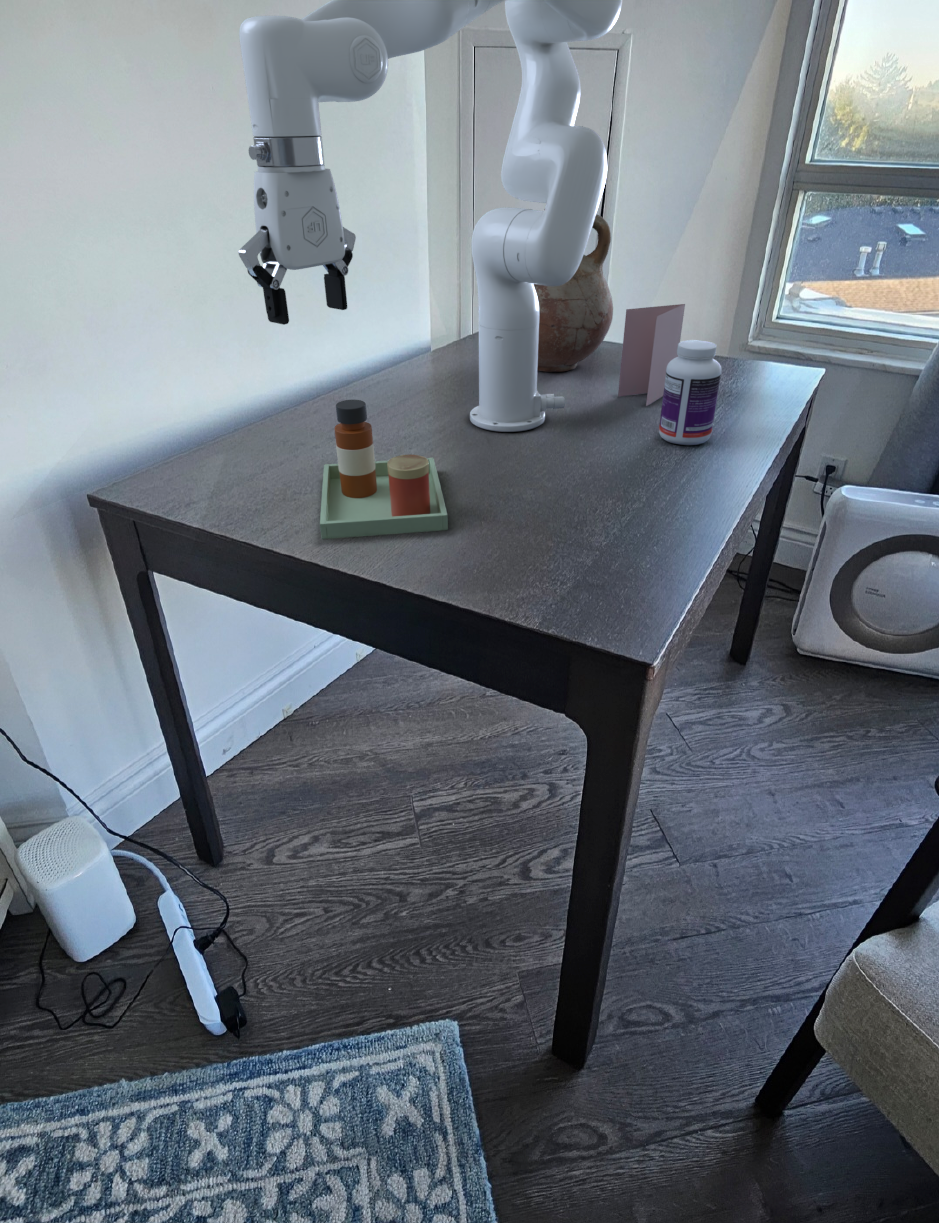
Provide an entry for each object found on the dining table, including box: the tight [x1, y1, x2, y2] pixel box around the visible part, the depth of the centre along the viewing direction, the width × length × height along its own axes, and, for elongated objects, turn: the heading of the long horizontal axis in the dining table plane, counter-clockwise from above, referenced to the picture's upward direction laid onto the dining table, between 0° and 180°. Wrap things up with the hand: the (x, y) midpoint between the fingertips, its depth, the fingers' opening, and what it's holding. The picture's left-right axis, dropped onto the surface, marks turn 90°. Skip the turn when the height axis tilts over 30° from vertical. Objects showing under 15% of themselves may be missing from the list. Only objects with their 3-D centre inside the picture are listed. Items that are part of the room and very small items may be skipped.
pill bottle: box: [658, 339, 722, 446], centre depth 115 cm, size 8×8×14 cm
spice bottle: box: [334, 399, 377, 498], centre depth 99 cm, size 5×5×12 cm
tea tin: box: [387, 453, 430, 517], centre depth 95 cm, size 5×5×7 cm
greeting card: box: [617, 303, 686, 407], centre depth 132 cm, size 11×7×15 cm, turn 108°
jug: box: [533, 208, 614, 373], centre depth 145 cm, size 22×22×30 cm
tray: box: [319, 457, 449, 540], centre depth 99 cm, size 15×18×3 cm
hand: (309, 315), depth 94 cm, fingers open, 9 cm apart
